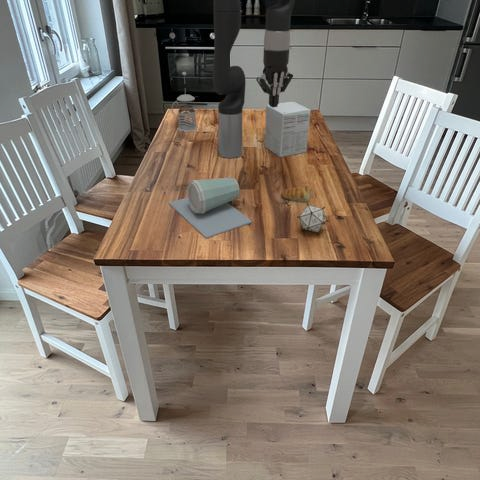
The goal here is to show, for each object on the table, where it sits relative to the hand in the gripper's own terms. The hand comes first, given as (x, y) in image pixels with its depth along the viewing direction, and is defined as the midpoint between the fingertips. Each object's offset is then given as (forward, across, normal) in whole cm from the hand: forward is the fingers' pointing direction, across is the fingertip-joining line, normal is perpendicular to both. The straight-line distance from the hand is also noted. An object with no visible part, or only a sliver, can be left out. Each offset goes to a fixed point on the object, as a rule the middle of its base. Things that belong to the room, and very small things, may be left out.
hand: (273, 106), depth 131 cm
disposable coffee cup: (+21, +18, +6) cm, 28 cm away
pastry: (+27, -2, +13) cm, 31 cm away
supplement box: (+27, -25, -22) cm, 43 cm away
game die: (+27, +8, +31) cm, 42 cm away
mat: (+27, +28, +6) cm, 39 cm away
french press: (+27, -2, -67) cm, 72 cm away
